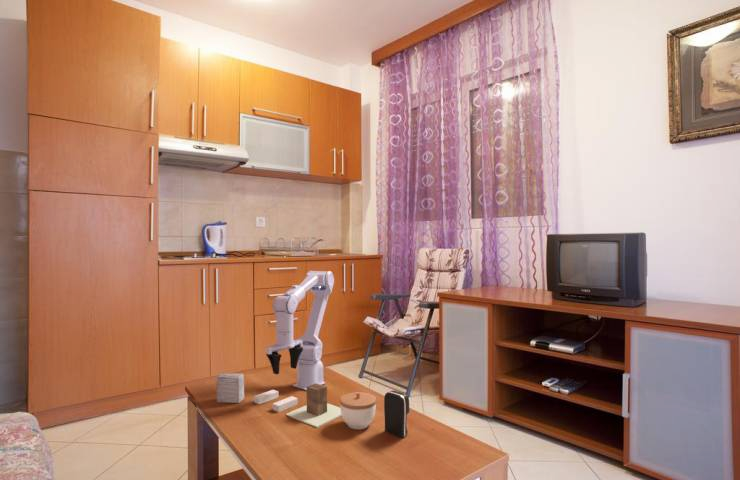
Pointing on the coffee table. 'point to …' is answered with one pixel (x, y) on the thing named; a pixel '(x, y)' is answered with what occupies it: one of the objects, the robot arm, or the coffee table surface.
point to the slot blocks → (278, 405)
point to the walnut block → (316, 399)
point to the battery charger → (396, 413)
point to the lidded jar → (358, 409)
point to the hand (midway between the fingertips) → (285, 370)
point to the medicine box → (230, 388)
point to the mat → (312, 419)
